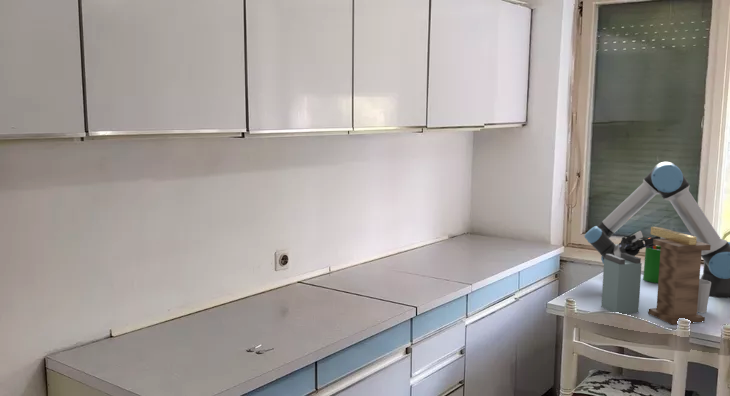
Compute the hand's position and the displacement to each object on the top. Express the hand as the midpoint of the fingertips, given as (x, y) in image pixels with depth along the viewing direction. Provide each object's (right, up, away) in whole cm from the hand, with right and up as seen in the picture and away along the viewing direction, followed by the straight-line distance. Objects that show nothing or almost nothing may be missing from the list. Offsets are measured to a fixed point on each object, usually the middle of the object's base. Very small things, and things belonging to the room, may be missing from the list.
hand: (656, 233), depth 260 cm
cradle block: (-14, -31, +1) cm, 34 cm away
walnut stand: (+4, -32, -9) cm, 34 cm away
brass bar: (+3, -2, -8) cm, 9 cm away
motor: (+19, -25, +46) cm, 56 cm away
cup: (+17, -31, +1) cm, 36 cm away
